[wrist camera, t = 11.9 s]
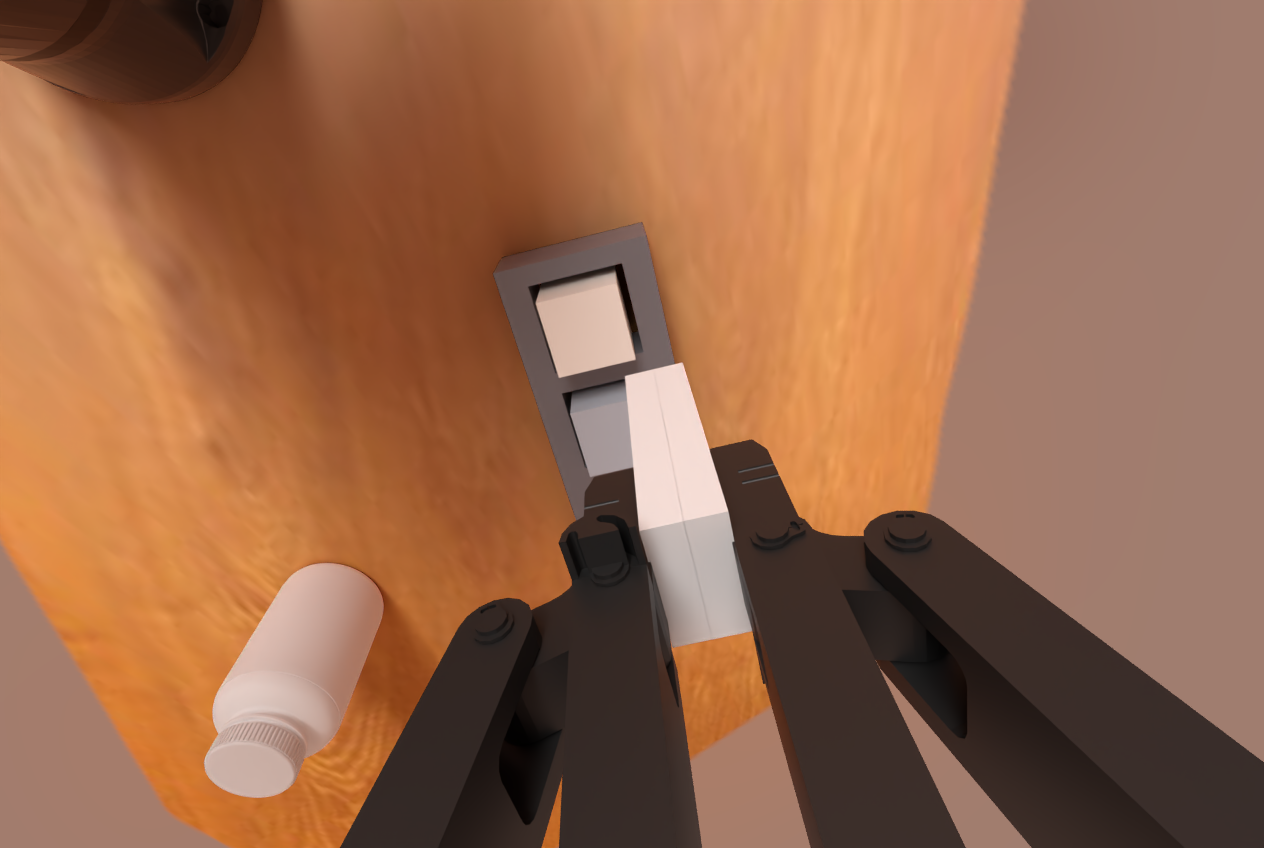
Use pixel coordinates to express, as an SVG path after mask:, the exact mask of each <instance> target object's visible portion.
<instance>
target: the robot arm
mask: <svg viewBox="0 0 1264 848" xmlns="http://www.w3.org/2000/svg"><path fill="white" fill-rule="evenodd" d="M261 5H262V0H0V61H3V62H6V63H8V64H10V65H12V66H14V67H17V68H19V69H21V70H23V71H26V72H28V73H30V74H33V75H35V76H37V77H40V78H42V79H44V80H45V81H47V82H49V83H51V84H53V85H55V86H58V87H60V88H62V89H65V90H67V91H70V92H72V93H75V94H78V95H81V96H85V97H89V98H93V99H97V100H102V101H107V102H113V103H122V104H152V103H168V102H176V101H180V100H185V99H188V98H191V97H194V96H196V95H199V94H201V93H203V92H205V91H207V90H209V89H210V88H212V87H214V86H215V85H216V84H218V83H219V82H221V81H222V80H223V79H224V78H225V77H226V76H227V75H228V74H229V73H230V72H231V71H232V70H233V69H234V68H235V67H236V66H237V64H238V63H239V62H240V60H241V59H242V57H243V56H244V54H245V53H246V51H247V49H248V47H249V45H250V43H251V41H252V38H253V36H254V33H255V30H256V27H257V24H258V20H259V16H260V11H261ZM625 382H626V393H627V403H628V414H629V425H630V436H631V447H632V457H633V468H632V469H627V470H623V471H618V472H614V473H610V474H605V475H601V476H596V477H594V478H593V480H592V481H591V483H590V484H589V486H588V488H587V489H586V491H585V496H584V508H585V510H584V516H583V517H582V518H580V519H578V520H577V521H575V522H573V523H572V524H570V526H569V527H568V528H567V529H566V530H565V531H564V532H563V533H562V536H561V538H560V541H559V545H560V548H561V551H562V554H563V556H564V559H565V562H566V565H567V568H568V570H569V573H570V576H571V579H572V586H571V587H570V589H568V590H567V591H566V592H564V593H563V594H562V595H561V596H559V597H557V598H555V599H554V600H552V601H550V602H548V603H546V604H544V605H542V606H539V607H537V608H535V609H533V610H531V609H530V607H529V605H528V604H526V603H525V602H523V601H522V600H520V599H512V598H505V599H500V600H494V601H492V602H490V603H487V604H485V605H483V606H481V607H479V608H478V609H476V610H475V611H474V612H472V613H471V614H470V615H469V616H467V617H466V619H465V620H464V621H463V623H462V624H461V625H460V626H459V628H458V630H457V631H456V633H455V635H454V637H453V639H452V641H451V643H450V644H449V646H448V648H447V650H446V652H445V654H444V656H443V657H442V659H441V661H440V663H439V665H438V667H437V669H436V670H435V672H434V674H433V676H432V678H431V680H430V682H429V683H428V685H427V687H426V689H425V691H424V693H423V695H422V696H421V698H420V700H419V702H418V704H417V706H416V708H415V709H414V711H413V713H412V715H411V717H410V719H409V721H408V722H407V724H406V726H405V728H404V730H403V732H402V734H401V735H400V737H399V739H398V741H397V743H396V745H395V747H394V748H393V750H392V752H391V754H390V756H389V758H388V760H387V761H386V763H385V765H384V767H383V769H382V771H381V773H380V774H379V776H378V778H377V780H376V782H375V784H374V786H373V787H372V789H371V791H370V793H369V795H368V797H367V799H366V800H365V802H364V804H363V806H362V808H361V810H360V812H359V813H358V815H357V817H356V819H355V821H354V823H353V825H352V826H351V828H350V830H349V832H348V834H347V836H346V838H345V839H344V841H343V843H342V845H341V847H340V848H541V847H542V843H543V840H544V837H545V833H546V830H547V826H548V823H549V819H550V816H551V812H552V809H553V805H554V802H555V798H556V795H557V792H558V788H559V785H560V781H561V778H562V798H561V818H560V839H559V848H702V844H701V837H700V830H699V822H698V815H697V809H696V801H695V793H694V786H693V779H692V772H691V765H690V758H689V750H688V743H687V736H686V729H685V722H684V715H683V707H682V700H681V693H680V686H679V679H678V672H677V668H676V664H675V661H674V657H673V654H672V650H671V643H672V647H673V648H674V647H678V646H683V645H688V644H693V643H698V642H702V641H707V640H712V639H717V638H722V637H726V636H731V635H736V634H741V633H746V632H750V631H753V636H754V641H755V646H756V651H757V655H758V660H759V665H760V670H761V675H762V680H763V684H766V688H767V691H768V695H769V698H770V702H771V706H772V709H773V713H774V716H775V720H776V723H777V727H778V731H779V734H780V738H781V742H782V745H783V749H784V752H785V756H786V760H787V763H788V767H789V771H790V774H791V778H792V781H793V785H794V789H795V792H796V796H797V799H798V803H799V807H800V810H801V814H802V817H803V821H804V824H805V828H806V832H807V836H808V839H809V843H810V846H811V848H966V847H965V846H964V843H963V841H962V839H961V837H960V835H959V833H958V831H957V829H956V827H955V824H954V822H953V821H952V818H951V816H950V814H949V812H948V810H947V808H946V806H945V804H944V802H943V800H942V797H941V795H940V793H939V791H938V789H937V787H936V785H935V783H934V781H933V779H932V777H931V775H930V772H929V770H928V768H927V766H926V764H925V762H924V760H923V758H922V756H921V754H920V752H919V750H918V748H917V745H916V744H915V741H914V739H913V737H912V735H911V733H910V731H909V729H908V727H907V725H906V723H905V721H904V718H903V717H902V714H901V712H900V710H899V708H898V706H897V704H896V702H895V700H894V698H893V696H892V693H891V691H890V689H889V687H888V685H887V683H886V681H885V679H884V677H883V675H882V673H881V671H880V669H881V670H882V671H883V672H884V673H885V674H886V676H887V677H888V678H889V679H890V680H891V682H892V683H893V684H894V685H895V686H896V688H897V689H898V690H899V691H900V692H901V693H902V695H903V696H904V697H905V698H906V699H907V700H908V702H909V703H910V704H911V705H912V706H913V708H914V709H915V710H916V711H917V712H918V714H919V715H920V716H921V717H922V718H923V719H924V721H925V722H926V723H927V724H928V725H929V726H930V728H931V729H932V730H933V731H934V732H935V734H936V735H937V736H938V737H939V738H940V740H941V741H942V742H943V743H944V744H945V745H946V747H947V748H948V749H949V750H950V751H951V753H952V754H953V755H954V756H955V757H956V759H957V760H958V761H959V762H960V763H961V764H962V766H963V767H964V768H965V769H966V770H967V771H968V773H969V774H970V775H971V776H972V777H973V779H974V780H975V781H976V782H977V783H978V785H979V786H980V787H981V788H982V789H983V790H984V792H985V793H986V794H987V795H988V796H989V798H990V799H991V800H992V801H993V802H994V803H995V805H996V806H997V807H998V808H999V809H1000V811H1001V812H1002V813H1003V814H1004V815H1005V817H1006V818H1007V819H1008V820H1009V821H1010V822H1011V824H1012V825H1013V826H1014V827H1015V828H1016V829H1017V831H1018V832H1019V833H1020V834H1021V835H1022V837H1023V838H1024V839H1025V840H1026V841H1027V843H1028V844H1029V845H1030V846H1031V847H1032V848H1264V762H1263V761H1261V760H1260V759H1259V758H1257V757H1256V756H1254V755H1253V754H1252V753H1250V752H1249V751H1248V750H1247V749H1245V748H1244V747H1243V746H1241V745H1240V744H1239V743H1237V742H1236V741H1235V740H1233V739H1232V738H1231V737H1229V736H1228V735H1227V734H1225V733H1224V732H1223V731H1222V730H1220V729H1219V728H1218V727H1216V726H1215V725H1214V724H1212V723H1211V722H1210V721H1208V720H1207V719H1206V718H1204V717H1203V716H1201V715H1200V714H1199V713H1198V712H1196V711H1195V710H1193V709H1192V708H1191V707H1190V706H1188V705H1187V704H1185V703H1184V702H1183V701H1182V700H1180V699H1179V698H1178V697H1176V696H1175V695H1173V694H1172V693H1171V692H1170V691H1168V690H1167V689H1166V688H1164V687H1163V686H1162V685H1160V684H1159V683H1158V682H1156V681H1155V680H1154V679H1152V678H1151V677H1150V676H1148V675H1147V674H1146V673H1144V672H1143V671H1142V670H1140V669H1139V668H1138V667H1136V666H1135V665H1134V664H1132V663H1131V662H1130V661H1129V660H1127V659H1126V658H1124V657H1123V656H1122V655H1120V654H1119V653H1118V652H1116V651H1115V650H1114V649H1113V648H1111V647H1110V646H1109V645H1107V644H1106V643H1104V642H1103V641H1102V640H1101V639H1099V638H1098V637H1097V636H1095V635H1094V634H1093V633H1091V632H1090V631H1089V630H1087V629H1086V628H1085V627H1083V626H1082V625H1081V624H1079V623H1078V622H1077V621H1075V620H1074V619H1073V618H1071V617H1070V616H1069V615H1067V614H1066V613H1065V612H1063V611H1062V610H1061V609H1059V608H1058V607H1057V606H1055V605H1054V604H1053V603H1051V602H1050V601H1049V600H1047V599H1046V598H1045V597H1043V596H1042V595H1041V594H1039V593H1038V592H1037V591H1035V590H1034V589H1033V588H1032V587H1030V586H1029V585H1028V584H1026V583H1025V582H1024V581H1022V580H1021V579H1020V578H1018V577H1017V576H1016V575H1014V574H1013V573H1012V572H1010V571H1009V570H1008V569H1006V568H1005V567H1004V566H1002V565H1001V564H1000V563H998V562H997V561H996V560H994V559H993V558H992V557H990V556H989V555H988V554H986V553H985V552H983V551H982V550H981V549H980V548H978V547H977V546H976V545H974V544H973V543H972V542H970V541H969V540H967V539H966V538H965V537H964V536H962V535H961V534H960V533H958V532H957V531H956V530H954V529H953V528H952V527H950V526H949V525H948V524H946V523H945V522H944V521H942V520H940V519H938V518H936V517H934V516H932V515H930V514H926V513H922V512H917V511H895V512H891V513H887V514H882V515H880V516H879V517H877V518H875V519H874V520H872V521H870V523H869V524H868V525H867V527H866V528H865V530H864V536H836V535H829V534H825V533H821V532H818V531H816V530H814V529H812V527H811V526H810V525H809V524H808V523H807V522H806V520H805V519H802V518H800V517H799V516H798V514H797V512H796V510H795V508H794V506H793V504H792V502H791V499H790V497H789V495H788V493H787V491H786V489H785V487H784V484H783V482H782V480H781V478H780V476H779V474H778V472H777V470H776V467H775V465H774V464H773V461H772V459H771V457H770V455H769V452H768V450H767V449H766V448H765V447H763V446H761V445H760V444H758V443H757V442H755V441H754V440H747V441H743V442H738V443H734V444H730V445H725V446H721V447H716V448H712V449H709V447H708V444H707V440H706V437H705V434H704V431H703V427H702V424H701V421H700V418H699V414H698V411H697V408H696V405H695V401H694V398H693V395H692V392H691V388H690V385H689V382H688V379H687V375H686V372H685V369H684V366H683V362H682V363H678V364H674V365H669V366H665V367H661V368H657V369H653V370H648V371H644V372H640V373H636V374H632V375H627V376H625ZM670 640H671V642H670ZM876 661H877V662H876ZM877 663H878V665H879V666H880V668H879V666H878V665H877ZM562 774H563V777H562Z"/></svg>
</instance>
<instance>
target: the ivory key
mask: <svg viewBox="0 0 1264 848" xmlns="http://www.w3.org/2000/svg"><path fill="white" fill-rule="evenodd" d="M536 306H537V309H538V313H539V316H540V319H541V322H542V325H543V329H544V332H545V335H546V338H547V341H548V344H549V348H550V351H551V354H552V357H553V360H554V364H555V367H556V370H557V373H558V376H559V378H561V377H565V376H569V375H573V374H578V373H582V372H586V371H590V370H594V369H599V368H603V367H607V366H611V365H615V364H620V363H624V362H628V361H632V360H636V358H635V351H634V344H633V337H632V331H631V327H630V323H629V319H628V315H627V311H626V307H625V303H624V299H623V295H622V291H621V287H620V283H619V279H618V275H617V271H616V267H615V265H613V266H609V267H605V268H601V269H597V270H593V271H589V272H585V273H581V274H577V275H573V276H569V277H565V278H560V279H556V280H552V281H548V282H544V283H541V287H540V290H539V294H538V297H537V300H536Z"/></svg>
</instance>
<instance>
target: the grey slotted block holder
mask: <svg viewBox="0 0 1264 848" xmlns="http://www.w3.org/2000/svg"><path fill="white" fill-rule="evenodd" d="M621 263H622V265H623V269H624V274H625V278H626V282H627V286H628V290H629V294H630V298H631V302H632V306H633V310H634V314H635V319H636V323H637V327H638V331H637V332H633V333H632V337H633V344H634V351H635V358H636V360H632V361H628V362H624V363H620V364H615V365H611V366H607V367H603V368H599V369H594V370H590V371H586V372H582V373H578V374H573V375H569V376H565V377H561V378H559V376H558V373H557V370H556V367H555V364H554V360H553V357H552V354H551V351H550V348H549V344H548V341H547V338H546V335H545V332H544V329H543V325H542V322H541V319H540V316H539V313H538V309H537V306H536V300H537V297H538V294H539V290H540V288H539V285H538V284H540V283H544V282H548V281H552V280H556V279H560V278H565V277H569V276H573V275H577V274H581V273H585V272H589V271H593V270H597V269H601V268H605V267H609V266H613V265H617V264H621ZM493 276H494V279H495V281H496V284H497V287H498V290H499V293H500V296H501V299H502V302H503V305H504V308H505V311H506V314H507V317H508V320H509V323H510V326H511V329H512V332H513V335H514V338H515V341H516V344H517V347H518V350H519V353H520V355H521V358H522V361H523V364H524V367H525V370H526V373H527V376H528V379H529V382H530V385H531V388H532V391H533V394H534V397H535V400H536V403H537V406H538V409H539V412H540V415H541V418H542V421H543V424H544V426H545V429H546V432H547V435H548V438H549V441H550V444H551V447H552V450H553V453H554V456H555V459H556V462H557V465H558V468H559V471H560V474H561V477H562V480H563V483H564V486H565V489H566V492H567V495H568V498H569V500H570V503H571V506H572V509H573V512H574V515H575V518H576V521H577V520H578V519H580V518H582V517H583V516H584V510H585V508H584V496H585V491H586V489H587V488H588V486H589V484H590V483H591V481H592V480H593V478H594V477H596V476H592V477H590V475H589V472H588V469H587V465H586V462H585V459H584V456H583V453H582V450H581V446H580V443H579V440H578V437H577V434H576V430H575V427H574V424H573V421H572V418H571V415H570V411H571V399H572V392H571V391H575V390H579V389H583V388H587V387H592V386H596V385H600V384H604V383H608V382H613V381H617V380H621V379H625V376H627V375H632V374H636V373H640V372H644V371H648V370H653V369H657V368H661V367H665V366H669V365H674V364H675V362H674V357H673V353H672V348H671V344H670V339H669V335H668V330H667V326H666V321H665V317H664V313H663V308H662V304H661V299H660V295H659V290H658V286H657V281H656V277H655V272H654V268H653V263H652V259H651V254H650V250H649V245H648V241H647V236H646V233H645V230H644V227H643V224H642V222H641V223H637V224H633V225H629V226H625V227H621V228H617V229H613V230H609V231H605V232H601V233H597V234H593V235H589V236H585V237H581V238H578V239H574V240H570V241H566V242H562V243H558V244H554V245H550V246H546V247H542V248H538V249H534V250H530V251H526V252H522V253H518V254H514V255H510V256H506V257H502V258H501V260H500V262H499V264H498V265H497V267H496V269H495V271H494V273H493ZM632 468H633V467H632ZM632 468H627V469H632ZM627 469H623V470H627ZM623 470H619V471H623ZM614 472H618V471H614ZM614 472H610V473H614ZM610 473H605V474H610ZM605 474H601V475H605ZM601 475H597V476H601Z"/></svg>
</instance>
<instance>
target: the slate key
mask: <svg viewBox="0 0 1264 848" xmlns="http://www.w3.org/2000/svg"><path fill="white" fill-rule="evenodd" d="M570 415H571V418H572V421H573V424H574V427H575V430H576V434H577V437H578V440H579V443H580V446H581V450H582V453H583V456H584V459H585V462H586V465H587V469H588V472H589V475H590V477H592V476H597V475H601V474H605V473H610V472H614V471H619V470H623V469H627V468H632V467H633V457H632V447H631V436H630V425H629V414H628V403H627V393H626V382H625V379H621V380H617V381H613V382H608V383H604V384H600V385H596V386H592V387H587V388H583V389H579V390H575V391H572V399H571V411H570Z"/></svg>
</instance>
